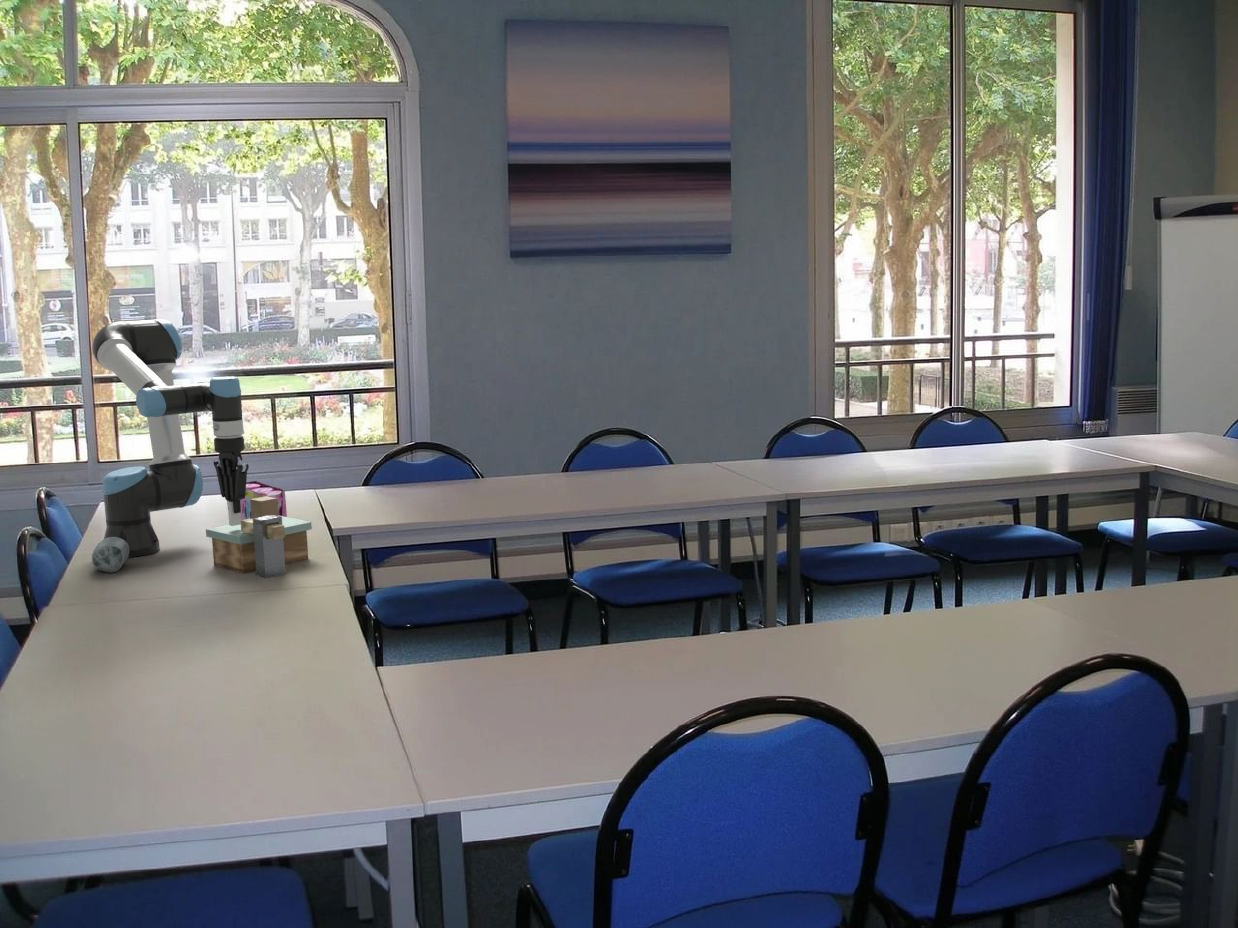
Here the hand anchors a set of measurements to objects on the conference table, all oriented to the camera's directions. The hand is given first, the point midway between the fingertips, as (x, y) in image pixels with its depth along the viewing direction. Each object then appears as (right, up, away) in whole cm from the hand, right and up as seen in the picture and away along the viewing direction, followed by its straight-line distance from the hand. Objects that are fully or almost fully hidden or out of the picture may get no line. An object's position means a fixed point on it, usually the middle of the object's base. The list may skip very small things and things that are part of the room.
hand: (235, 524), depth 326 cm
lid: (+5, -2, +5) cm, 7 cm away
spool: (-34, -12, +2) cm, 36 cm away
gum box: (-6, -4, +45) cm, 46 cm away
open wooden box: (+5, -10, +6) cm, 13 cm away
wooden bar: (+9, -2, -8) cm, 12 cm away
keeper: (+12, -12, -8) cm, 19 cm away
